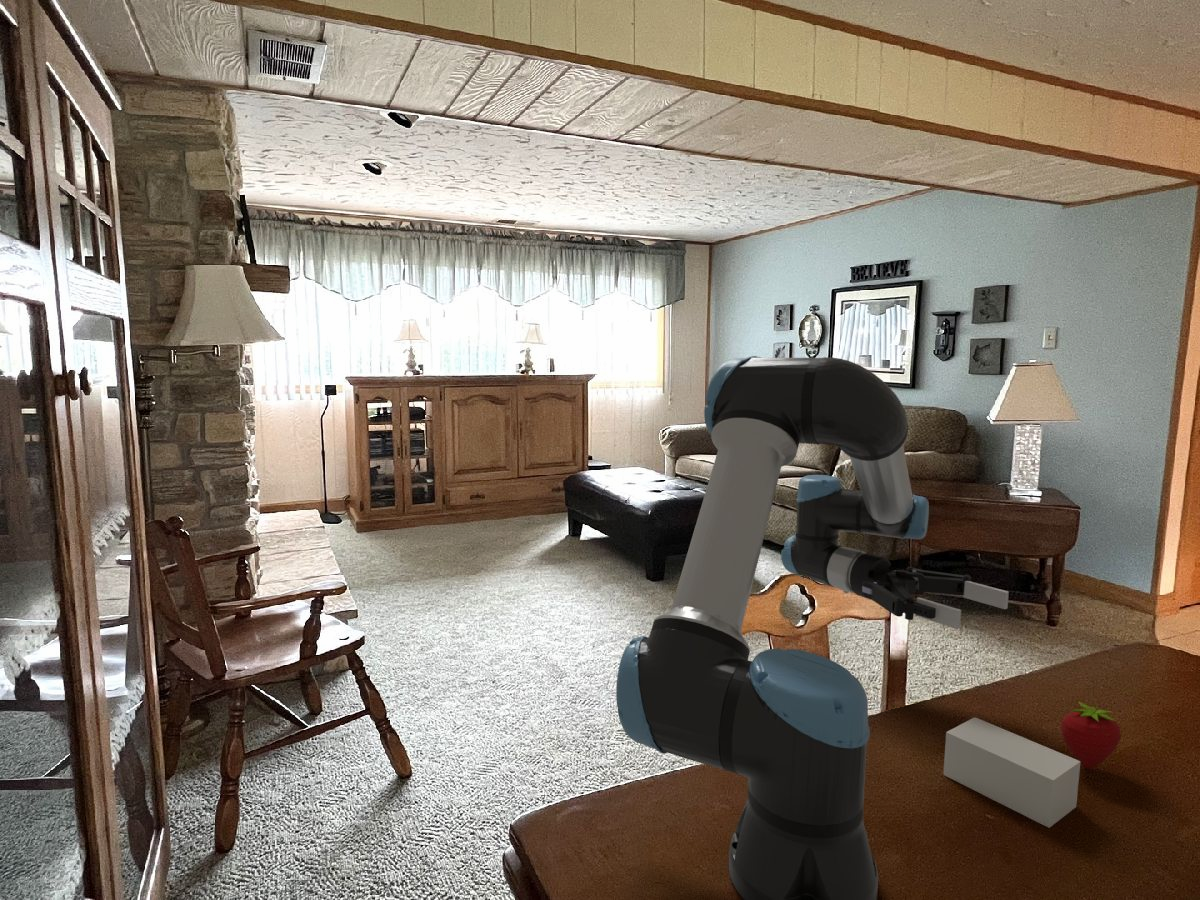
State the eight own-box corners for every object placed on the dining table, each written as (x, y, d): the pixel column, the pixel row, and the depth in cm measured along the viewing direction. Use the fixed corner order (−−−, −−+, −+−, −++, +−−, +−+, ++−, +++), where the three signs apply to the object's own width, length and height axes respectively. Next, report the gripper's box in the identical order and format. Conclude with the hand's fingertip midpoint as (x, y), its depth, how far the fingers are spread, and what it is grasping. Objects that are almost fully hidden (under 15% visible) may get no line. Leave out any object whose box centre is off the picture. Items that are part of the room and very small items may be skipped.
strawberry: (1045, 759, 98) (1051, 690, 97) (1089, 752, 100) (1096, 685, 99) (1083, 784, 93) (1090, 711, 91) (1130, 776, 94) (1137, 705, 93)
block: (1049, 827, 84) (1053, 780, 83) (943, 774, 95) (946, 732, 94) (1076, 807, 88) (1080, 761, 87) (971, 758, 99) (974, 717, 98)
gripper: (902, 581, 132) (1023, 615, 115) (813, 609, 118) (935, 653, 101) (904, 541, 131) (1026, 570, 113) (814, 565, 117) (938, 602, 100)
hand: (984, 609), depth 107 cm, fingers open, 13 cm apart
